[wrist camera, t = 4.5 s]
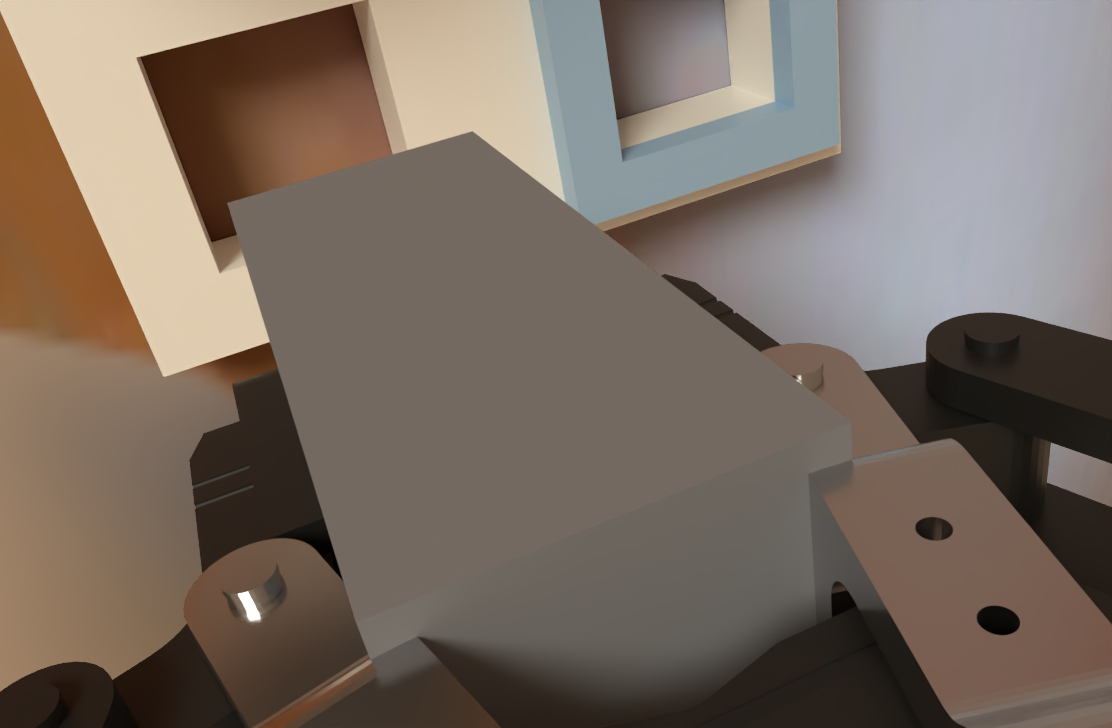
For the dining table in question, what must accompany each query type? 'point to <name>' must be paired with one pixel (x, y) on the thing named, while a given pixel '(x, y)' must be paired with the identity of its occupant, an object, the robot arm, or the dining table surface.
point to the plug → (533, 439)
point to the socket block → (415, 123)
